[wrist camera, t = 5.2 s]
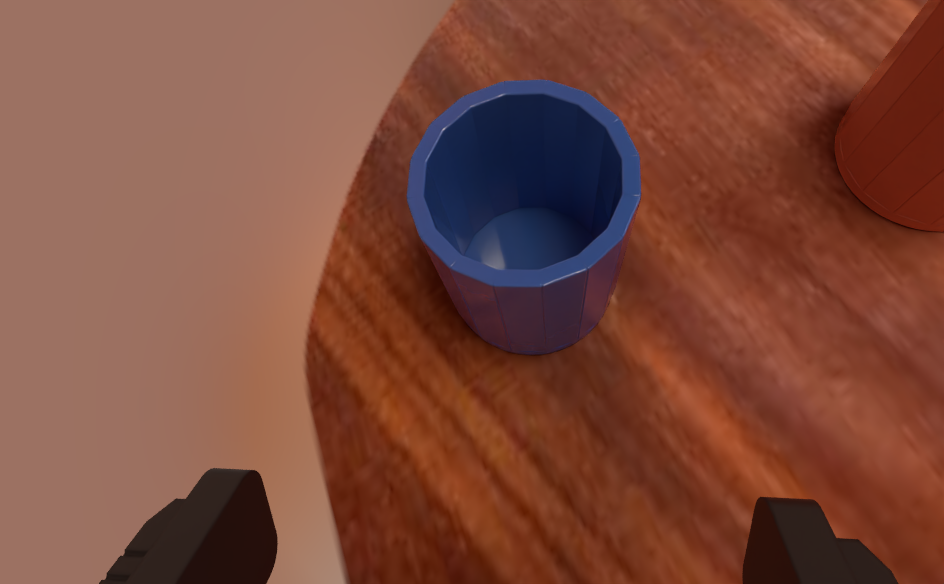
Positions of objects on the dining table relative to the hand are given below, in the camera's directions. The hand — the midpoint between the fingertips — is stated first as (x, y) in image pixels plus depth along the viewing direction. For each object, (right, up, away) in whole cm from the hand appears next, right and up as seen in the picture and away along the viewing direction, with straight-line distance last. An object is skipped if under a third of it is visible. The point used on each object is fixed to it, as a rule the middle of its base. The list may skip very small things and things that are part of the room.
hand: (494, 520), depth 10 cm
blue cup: (+2, +4, +14) cm, 15 cm away
